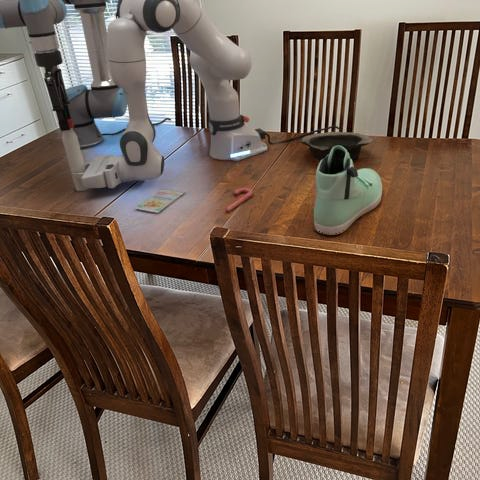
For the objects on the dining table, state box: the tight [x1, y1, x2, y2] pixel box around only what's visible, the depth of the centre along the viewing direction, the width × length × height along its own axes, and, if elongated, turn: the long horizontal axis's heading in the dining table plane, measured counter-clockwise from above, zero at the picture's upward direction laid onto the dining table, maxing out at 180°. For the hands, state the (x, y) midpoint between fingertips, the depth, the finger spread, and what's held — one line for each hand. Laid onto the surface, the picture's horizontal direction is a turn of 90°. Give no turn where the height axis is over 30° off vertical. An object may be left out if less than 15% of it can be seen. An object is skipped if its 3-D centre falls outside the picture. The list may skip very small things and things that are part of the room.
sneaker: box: [313, 146, 383, 236], centre depth 133 cm, size 14×35×20 cm, turn 152°
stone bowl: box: [300, 131, 374, 164], centre depth 169 cm, size 25×25×9 cm
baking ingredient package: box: [134, 188, 184, 214], centre depth 151 cm, size 9×1×15 cm
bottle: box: [61, 128, 90, 192], centre depth 159 cm, size 5×5×23 cm
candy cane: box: [224, 187, 254, 213], centre depth 147 cm, size 6×15×2 cm, turn 145°
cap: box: [57, 119, 74, 129], centre depth 153 cm, size 4×4×2 cm
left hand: (67, 127), depth 154 cm, fingers closed on cap, 4 cm apart
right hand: (75, 171), depth 162 cm, fingers closed on bottle, 5 cm apart
